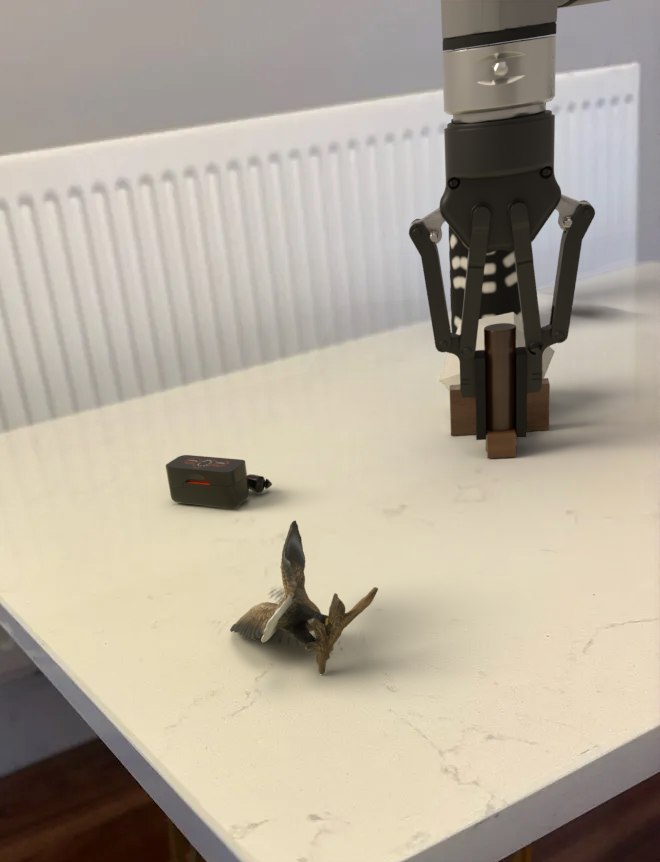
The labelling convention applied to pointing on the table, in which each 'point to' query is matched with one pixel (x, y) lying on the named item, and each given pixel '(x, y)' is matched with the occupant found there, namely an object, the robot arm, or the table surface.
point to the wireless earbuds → (212, 481)
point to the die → (453, 364)
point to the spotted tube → (497, 282)
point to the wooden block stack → (499, 396)
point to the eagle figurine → (300, 608)
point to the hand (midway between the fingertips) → (500, 432)
